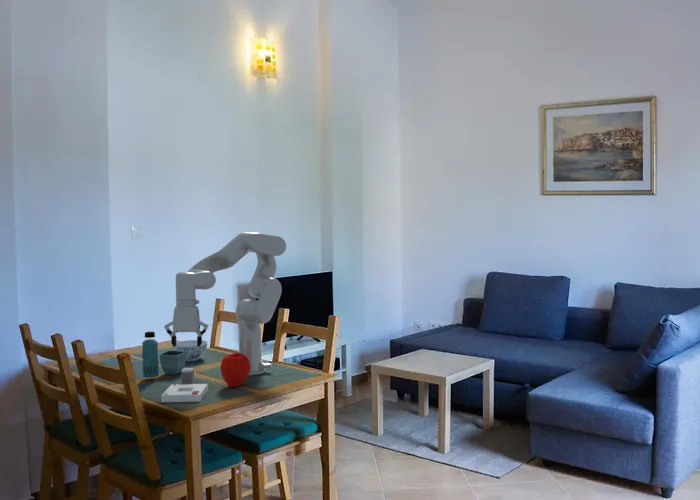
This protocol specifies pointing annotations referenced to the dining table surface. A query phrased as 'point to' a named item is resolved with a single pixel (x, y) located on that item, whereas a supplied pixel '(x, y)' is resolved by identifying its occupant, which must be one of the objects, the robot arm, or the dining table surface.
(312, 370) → the dining table surface
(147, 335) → the beverage bottle
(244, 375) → the apple
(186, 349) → the chinaware
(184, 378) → the plug
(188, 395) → the socket plate
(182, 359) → the flower pot
